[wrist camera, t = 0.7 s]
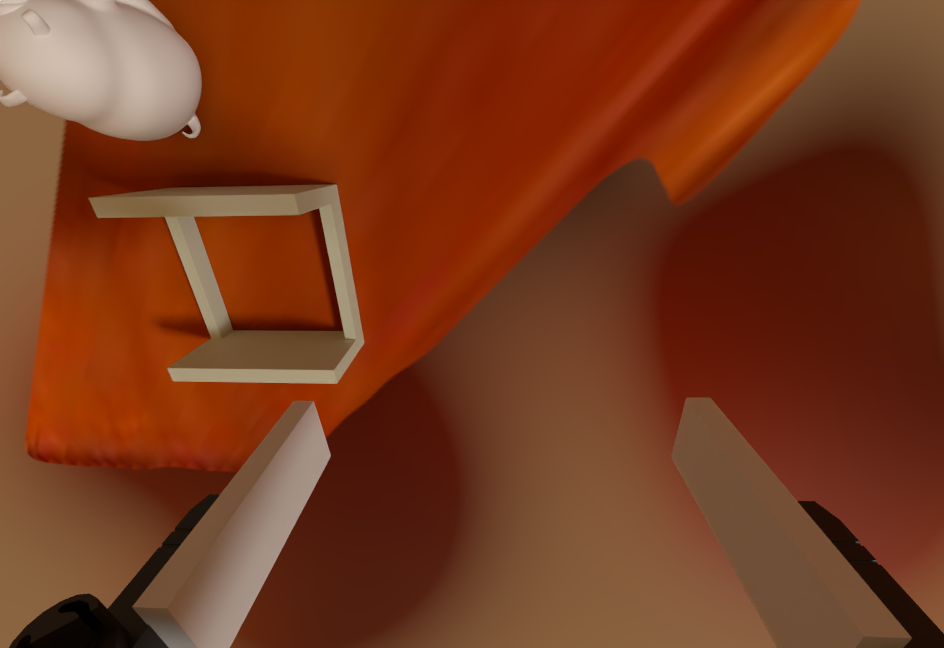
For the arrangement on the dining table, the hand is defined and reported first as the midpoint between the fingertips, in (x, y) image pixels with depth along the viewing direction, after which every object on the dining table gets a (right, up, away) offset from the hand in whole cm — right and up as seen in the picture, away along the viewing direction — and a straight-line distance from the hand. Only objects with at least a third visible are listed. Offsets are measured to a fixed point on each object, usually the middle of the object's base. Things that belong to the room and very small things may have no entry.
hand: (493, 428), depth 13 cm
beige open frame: (-21, +9, +25) cm, 34 cm away
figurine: (-27, +25, +18) cm, 41 cm away
